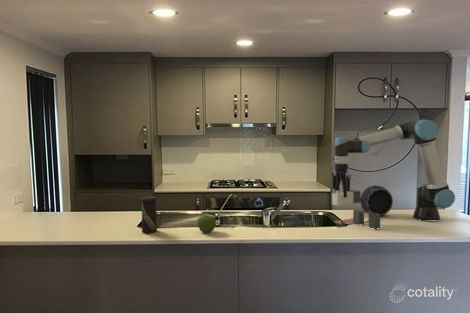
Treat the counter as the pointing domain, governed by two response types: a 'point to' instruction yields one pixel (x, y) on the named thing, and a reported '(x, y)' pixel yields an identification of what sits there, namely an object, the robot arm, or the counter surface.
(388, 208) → the dark grey thick wheel
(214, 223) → the apple
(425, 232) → the counter surface
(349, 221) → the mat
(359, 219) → the housing
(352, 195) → the plug
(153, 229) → the container
